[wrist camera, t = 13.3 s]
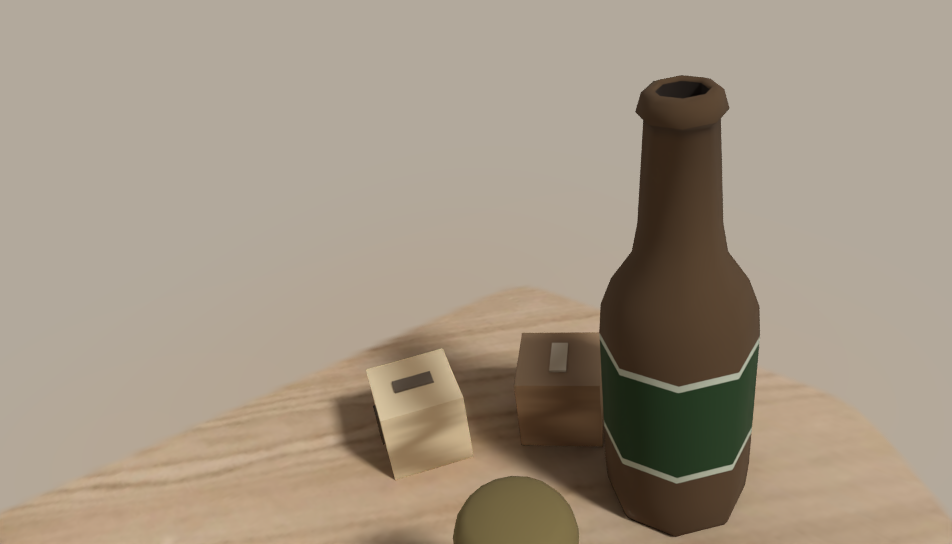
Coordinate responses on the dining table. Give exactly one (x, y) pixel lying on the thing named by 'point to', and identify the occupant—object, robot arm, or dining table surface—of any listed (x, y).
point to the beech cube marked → (420, 413)
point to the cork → (516, 515)
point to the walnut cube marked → (559, 389)
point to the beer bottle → (679, 327)
